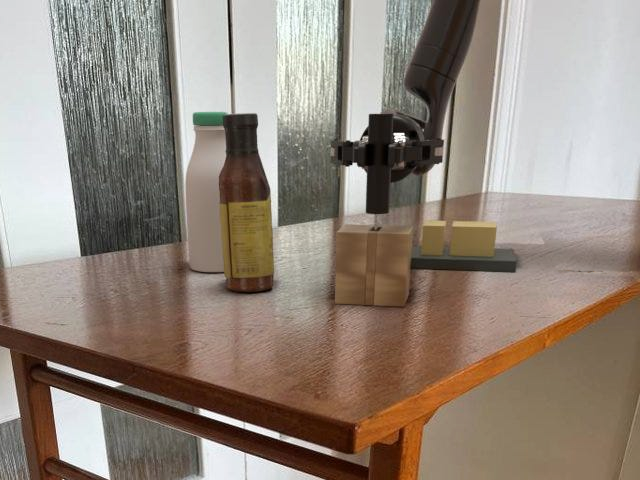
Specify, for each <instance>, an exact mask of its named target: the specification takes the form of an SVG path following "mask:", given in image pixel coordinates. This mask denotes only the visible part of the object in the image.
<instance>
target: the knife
mask: <svg viewBox="0 0 640 480" xmlns="http://www.w3.org/2000/svg"><path fill="white" fill-rule="evenodd" d="M367 127H368V157H367V173H366V187H365V188H366V189H365V214H368V215H374V217H373V219H374V222H373V223H374V224H373V225H374V231H379V225H380V219H381V218H380V216H381V215H386V214H387V215H388V214H389V213H390V199H391V198H390V196H391V183H390V178H391V167H388V149H389V144H391V143H392V134H393V114H392V113H390V114H380V113H369V114H368V124H367Z"/></svg>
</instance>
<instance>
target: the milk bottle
mask: <svg viewBox="0 0 640 480" xmlns="http://www.w3.org/2000/svg"><path fill="white" fill-rule="evenodd" d="M225 114H228V112H226V111H196V112H193V113H192V125H193V131H194V133H195V134H194V135H195V136H194V137H195V138H194V145H193V149H192V153H191V156H190V159H189V161H188V165H187V166H186V172H185V184H184V187H185V188H184V189H185V190H184V191H185V211H186V212H185V215H186V231H187V249H188V263H189V267H190V269H191V270H193V271H196V272H202V273H224V262H223V248H222V233H221V219H220V206H219V202H220V191H219V175H220V172H221V170H222V168H223V166H224V163H225V160H226V152H225V151H226V136H225V129H224V127H223V115H225Z"/></svg>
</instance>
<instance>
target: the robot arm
mask: <svg viewBox="0 0 640 480" xmlns="http://www.w3.org/2000/svg"><path fill="white" fill-rule="evenodd" d="M480 5H481V0H432V2H431V5H430V8H429V12H428V14H427V17H426V20H425V22H424V26H423V28H422V30H421V32H420V36H419V37H418V41H417V42H416V45H415V47H414V50H413V53H412V55H411V58H410V61H409V64H408V66H407V68H406V71H405V74H404V76H403V80H402V86H403V88H404V91H406V92H407V93H408V94H409V95H410V96H412V97H414V98H415V99H416V100H418V101H419V102H421V103H422V104H423V105H424V107H425V108H426V111H427V119H426V120H423V119H421V118H418V117H416V116H414V115H411V114H408V113H406V112H403V111H401V110H398V109H396V108H389V107H388V108H385V109H383V110H382V111H381V112H380V113H379V114H390V113H392V114H393V134H392V143H391V144H389V149H388V167H391V178H390V184H392V183H393V184H394V183H397V182H400V181H403V180H404V179H406V178H407V177H408V176H409V175H413V176H419V177H420V176H423V175H426V174H427V173H429V172H430V171H431V170H432V169H433V168H434V167H435V165H440V163H441V164H442V163H443V159H444V149H445V139H443V134H444V127H445V122H446V121H445V120H446V115H447V110H448V106H449V103H450V99H451V97H452V94H453V91H454V88H455V87H456V83H457V81H458V79H459V76H460V74H461V71H462V69H463V67H464V64H465V61H466V59H467V57H468V54H469V51H470V49H471V45H472V43H473V39H474V36H475V32H476V26H477V21H478V16H479V11H480V7H481V6H480ZM367 157H368V126H367V127H366V128H365V130H364V131H363V132H362V135H361V136H360V139H359V140H354V141H351V140H350V139H345V140H344V139H343V140H342V139H339V138H333V139H332V140H330V158H329V159H330V161H329V162H330V164H333V165H339V166H344V167H346V168H348V167H350V166H353V164H356V166H357V167H358V168H361V169H362V170H364V172H365V173H366V174H367Z"/></svg>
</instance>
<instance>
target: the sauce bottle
mask: <svg viewBox="0 0 640 480" xmlns="http://www.w3.org/2000/svg"><path fill="white" fill-rule="evenodd" d="M258 119H259V117H258V114H257V112H243V113H241V112H240V113H227V114H225V115H223V127H224V129H225V136H226V151H225V152H226V160H225V163H224V166H223V168H222V170H221V172H220V175H219V191H220V202H219V206H220V219H221V233H222V248H223V262H224V272H223V273H224V278H225V286H226V289H228V290H231V291H233V292H235V293H237V292H239V293H257V292H262V291H267V290H270V289H271V288H273V286H274V284H275V283H274V281H275V280H274V277H275V275H274V274H275V260H274V257H275V256H274V231H273V215H272V214H273V212H272V195H271V194H272V193H271V192H272V191H271V187H270V184H269V180H268V177H267V175H266V171H265V168H264V165H263V162H262V159H261V156H260V152H259V148H258V145H259V144H258V126H259V120H258Z"/></svg>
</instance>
